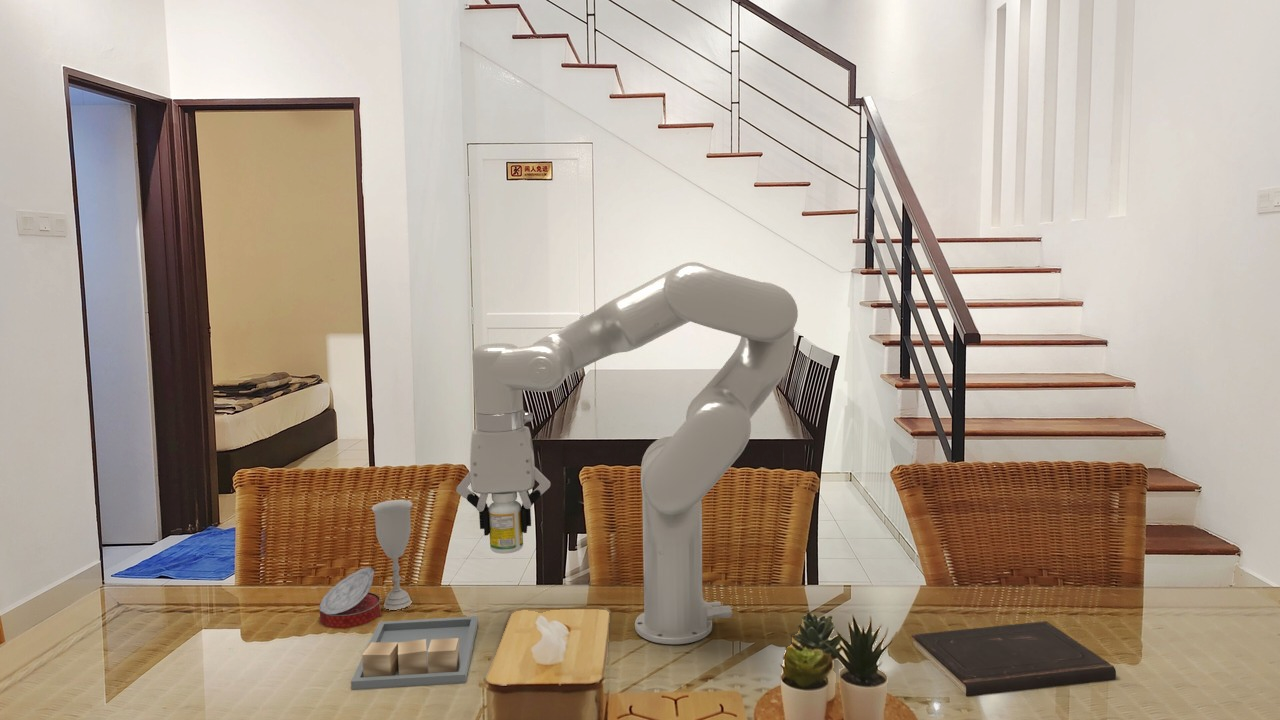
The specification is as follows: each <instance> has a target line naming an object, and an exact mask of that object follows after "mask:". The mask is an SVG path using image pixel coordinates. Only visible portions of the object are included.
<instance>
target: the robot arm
mask: <svg viewBox="0 0 1280 720" xmlns="http://www.w3.org/2000/svg"><path fill="white" fill-rule="evenodd" d="M798 310H799V309H798V306H797V303H796V300H795V299H794V297H793V296H792V294H790V293H789V292H788V291H787V290H786V289H785V288H783V287H781V286H779V285H776V284H774V283H772V282H766V281H765V282H764V281H759V280H754V279H750V278H749V277H748V278H747V277H743V276H739V275H736V274H734V273H733V274H732V273H729V272H726V271H723V270H719V269H716V268H713V267H712V266H711V267H710V266H707V265H705V264H703V263H700V262H695V261H691V262H687V263H683V264H681V265H678V266H676V267H674V268H672V269H669V270H668V271H666V272H664V273H662V274H661V275H659V276H656V277H655V278H653V279H651V280H649V281H647V282H645V283H643V284H641V285H639V286H638V287H635V288H634V289H632V290H629V291H627V292H626V293H624V294H621V295H620V296H618V297H616V298H614V299H612V300H610V301H608V302H607V303H604V304H603V305H601V306H600V307H599V308H597V309H596V310H594V311H592V312H591V313H589V314H587V315H585V316H583V317H581V318H580V319H576V320H575V321H574V322H571V323H570V324H567V325H565V326H564V327H562V328H560V329H558V330H556V331H554V332H551V333H550V334H548V335H546V336H544V337H541V338H540V339H538V340H536V342H534V343H533V344H530V345H528V346H521V347H520V346H519V347H518V346H517V345H515V344H512V343H506V342H505V343H504V342H503V343H499V342H498V343H488V344H487V343H486V344H482V345H478V346H476V347H475V348H474V349H473V352H472V356H471V357H472V359H471V361H472V373H473V374H472V376H473V377H472V378H473V391H474V392H473V394H474V407H475V408H474V410H475V428H476V429H473V430H472V432H471V440H470V459H469V463H470V465H469V468H470V469H469V472H468V473H467V474H466V476H465V477H464V478H462V480H461V482H459V483H458V485H457V486H456V490H455V492H456V493H457V494H458V495H460V496H461V497H462V498H464V499H466V501H467V502H468V503H470V504H471V505H472V506H473V507H474V508H475V509H476V510H477V511H478V515H479V517H478V518H479V529H480V530H483V533H484V536H488V535H489V536H490V533H489V515H488V508H489V506H488V503H487V500H488V497H489V495H490V494H491V495H492V493H509V492H517V494H518V495H519V498H520V500H521V502H522V504H521V507H522V508H521V519H522V532H523V534H527V533H528V527H532V513H531V511H532V510H531V508H532V506H533V505H534V504H535V503H536V502H537V501H538V499H539V498H541V496H542V495H543V494H544V493H545V492H546V491H547V490H548V489H550V487H551V481H550V480H549V479H548V478H547V477H546V476H545V475H544V474H543V473H542V472H541V471H540V470H539V468H537V467H536V465H535V454H534V445H533V439H532V434H531V431H530V427H529V426H525V425H526V423H529V422H533V420H534V417H533V416H534V415H533V412H526V410H524V400H523V391H528V392H538V393H545V392H551V391H553V390H555V389H557V388H558V387H560V386H561V385H562V384H563V382H564V381H565V380H566V377H567V378H568V376H570V375H572V374H574V373H576V372H577V371H580V370H581V369H583V368H585V367H588V366H589V365H592V364H593V363H596V362H597V361H599V360H602V359H604V358H607V357H610V356H612V355H615V354H620V353H628V352H631V351H633V350H634V351H635V350H636V349H638V348H642V347H643V346H645V345H647V344H648V343H651V342H653V341H655V340H656V339H658V338H660V337H662V336H664V335H667V334H668V333H670V332H672V331H674V330H677V328H680V327H682V326H684V325H686V324H687V323H689V322H691V323H694V324H696V325H697V324H698V325H700V326H703V327H706V328H709V329H714V330H716V331H720V332H724V333H728V334H731V335H735V336H738V337H740V340H739V343H738V344H737V347H736V349H735V350H734V352H733V353H732V354H731V356H730V357H729V358H728V359H727V360H726V362H725V363H724V364H723V366H722V367H721V369H720V370H719V371H718V372H717V373H716V374H715V375H714V376H713V378H711V379H710V381H709V382H708V383H707V384H706V385H705V386H704V387H703V389H702V390H701V391H700V392H699V393H698V394H697V395H696V396H695V397H694V398H693V399H692V400H691V402H690V403H689V405H688V407H687V410H686V417H685V421H684V422H683V423H682V424H681V425H680V427H679V428H678V429H677V431H675V433H674V434H673V435H672V436H663V437H661V438H658V439H656V440H654V441H653V442H652V443H651V444H650V445H649V446H648V447H647V449H646V451H645V452H644V454H643V456H642V461H641V465H640V487H641V493H642V501H641V502H642V503H641V504H642V555H643V556H642V559H643V561H642V563H643V566H642V567H643V601H644V602H643V607H644V610H643V612H642V613H640V614H639V615H638V616H637V617H636V618H635V620H634V621H635V622H634V629H635V632H636V633H637V634H638V636H640V637H641V638H643V639H645V640H646V641H649V642H653V643H656V644H662V645H684V644H690V643H694V642H699V641H701V640H702V639H704V638H706V637H708V635H709V634H711V632H712V630H713V619H717V618H718V619H719V618H720V619H730V618H732V616H733V614H732V613H733V610H732V606H731V605H722V602H721V601H711V602H707V600H705V599H704V597H703V538H702V537H703V516H702V515H703V511H702V510H703V509H702V508H703V507H702V499H703V498H704V497H706V495H707V494H708V493H709V492H710V490H712V488H714V486H715V485H716V484H717V482H719V480H720V479H721V478H722V477H723V476H724V474H726V473H727V471H728V470H729V469H730V468H731V466H733V464H734V463H735V462H736V460H738V458H739V457H740V456H741V455H742V453H743V452H744V451H745V448H746V447H747V445H748V443H749V441H750V437H751V432H752V423H751V422H752V421H751V419H752V418H753V416H754V415H755V413H756V412H757V411H758V410H759V408H761V406H762V405H763V404H764V403H765V401H766V400H767V399H768V397H769V396H770V395H771V394H772V392H774V389H776V387H778V385H779V383H780V381H781V380H782V379H783V378H784V376H785V374H786V372H787V371H788V369H789V367H790V363H791V360H792V358H793V353H794V347H795V346H794V345H795V327H796V324H797V322H798V317H799V316H798V315H799V314H798ZM535 481H536V482H537V483H538V484H539V485H538V486H537V487H536V488H535V489H533V488H534V487H535ZM469 486H470V487H471V490H470V489H469ZM532 489H533V490H532ZM531 490H532V491H531ZM530 491H531V492H530ZM477 494H479V495H477Z"/></svg>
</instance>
